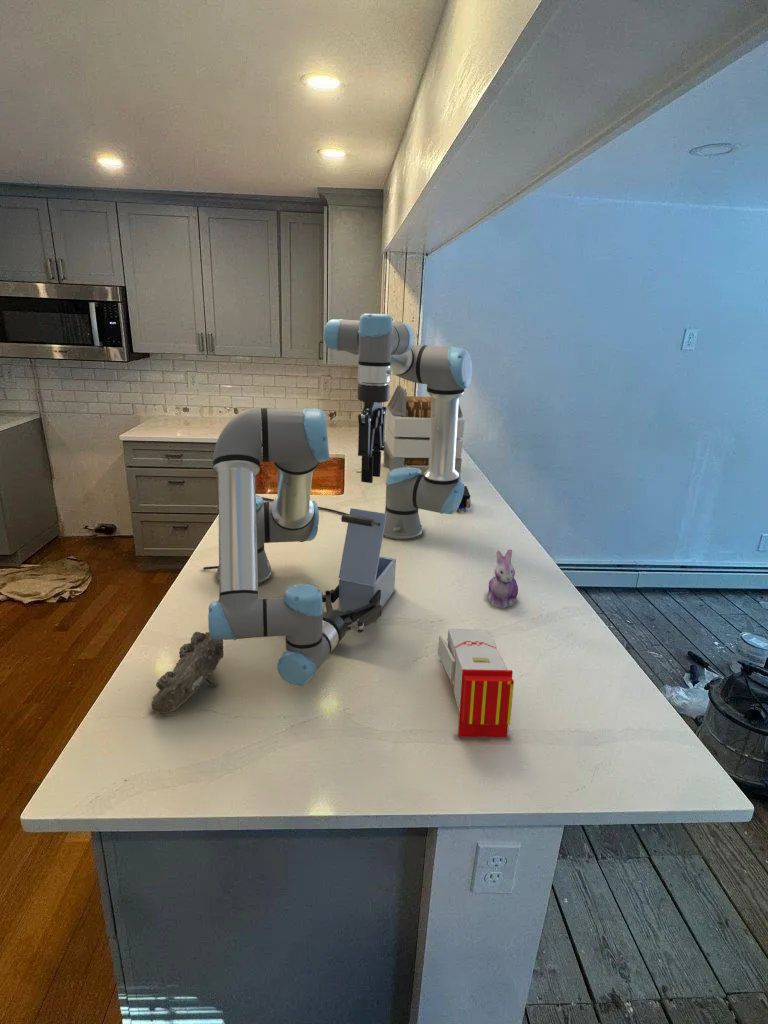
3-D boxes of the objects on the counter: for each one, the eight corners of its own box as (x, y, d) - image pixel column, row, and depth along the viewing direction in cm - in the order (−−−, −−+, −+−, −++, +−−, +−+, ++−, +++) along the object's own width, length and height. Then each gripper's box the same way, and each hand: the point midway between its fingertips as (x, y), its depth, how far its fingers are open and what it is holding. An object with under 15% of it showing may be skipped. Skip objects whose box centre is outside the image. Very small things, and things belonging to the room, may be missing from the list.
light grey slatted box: (382, 463, 289) (386, 382, 275) (445, 464, 293) (451, 384, 279) (390, 482, 257) (394, 392, 243) (460, 483, 261) (468, 394, 247)
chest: (362, 583, 162) (363, 553, 159) (394, 590, 159) (396, 559, 156) (338, 613, 147) (338, 579, 143) (373, 620, 144) (374, 586, 141)
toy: (488, 613, 130) (523, 677, 101) (484, 667, 133) (517, 744, 104) (435, 612, 130) (455, 676, 101) (432, 666, 133) (451, 743, 103)
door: (351, 508, 144) (340, 505, 136) (387, 514, 141) (377, 511, 134) (339, 578, 144) (327, 579, 136) (374, 585, 141) (364, 586, 133)
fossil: (177, 634, 126) (224, 603, 121) (207, 662, 129) (255, 633, 124) (129, 707, 107) (182, 674, 102) (165, 739, 110) (219, 708, 105)
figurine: (500, 612, 150) (506, 561, 145) (477, 595, 159) (482, 546, 153) (527, 605, 154) (535, 555, 149) (504, 589, 163) (510, 541, 158)
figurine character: (470, 516, 223) (465, 500, 237) (473, 499, 220) (467, 484, 233) (453, 516, 223) (449, 500, 236) (455, 498, 220) (451, 483, 233)
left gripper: (280, 638, 131) (321, 595, 151) (370, 659, 124) (400, 612, 144) (279, 609, 128) (321, 569, 148) (371, 629, 121) (402, 585, 141)
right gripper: (376, 389, 123) (372, 491, 131) (400, 380, 139) (396, 471, 147) (344, 386, 125) (342, 487, 134) (371, 378, 141) (369, 468, 149)
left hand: (360, 590), depth 146 cm, fingers closed on chest, 9 cm apart
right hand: (370, 478), depth 140 cm, fingers open, 5 cm apart
